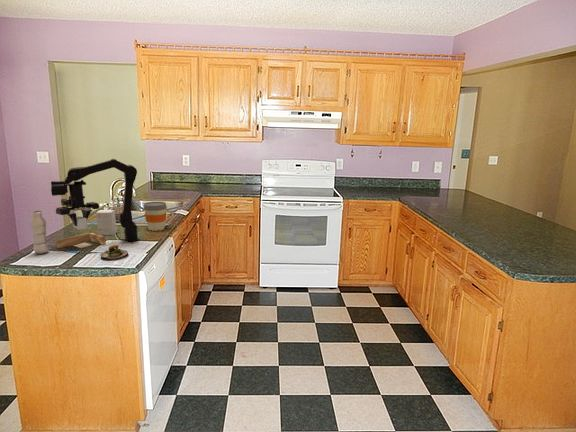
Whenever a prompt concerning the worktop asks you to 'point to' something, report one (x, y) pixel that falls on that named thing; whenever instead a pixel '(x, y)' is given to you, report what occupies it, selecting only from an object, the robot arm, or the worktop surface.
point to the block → (81, 223)
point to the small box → (106, 222)
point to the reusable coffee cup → (155, 215)
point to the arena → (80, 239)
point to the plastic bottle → (39, 233)
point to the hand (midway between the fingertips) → (80, 225)
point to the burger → (113, 252)
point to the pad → (82, 245)
